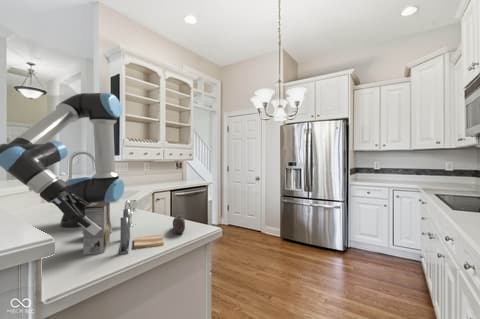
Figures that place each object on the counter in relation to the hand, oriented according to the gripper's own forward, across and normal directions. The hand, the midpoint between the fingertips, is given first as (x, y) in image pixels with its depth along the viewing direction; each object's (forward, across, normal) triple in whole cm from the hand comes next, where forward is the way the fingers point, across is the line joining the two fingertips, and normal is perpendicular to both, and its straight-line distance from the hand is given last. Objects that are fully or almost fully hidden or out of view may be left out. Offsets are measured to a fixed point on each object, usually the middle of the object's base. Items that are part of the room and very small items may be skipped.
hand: (101, 227), depth 82 cm
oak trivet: (+17, -1, +6) cm, 18 cm away
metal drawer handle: (+11, 0, 0) cm, 11 cm away
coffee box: (+5, 0, -7) cm, 8 cm away
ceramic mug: (+4, -17, -8) cm, 19 cm away
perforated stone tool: (+26, -12, +15) cm, 32 cm away
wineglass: (+12, -30, 0) cm, 32 cm away
